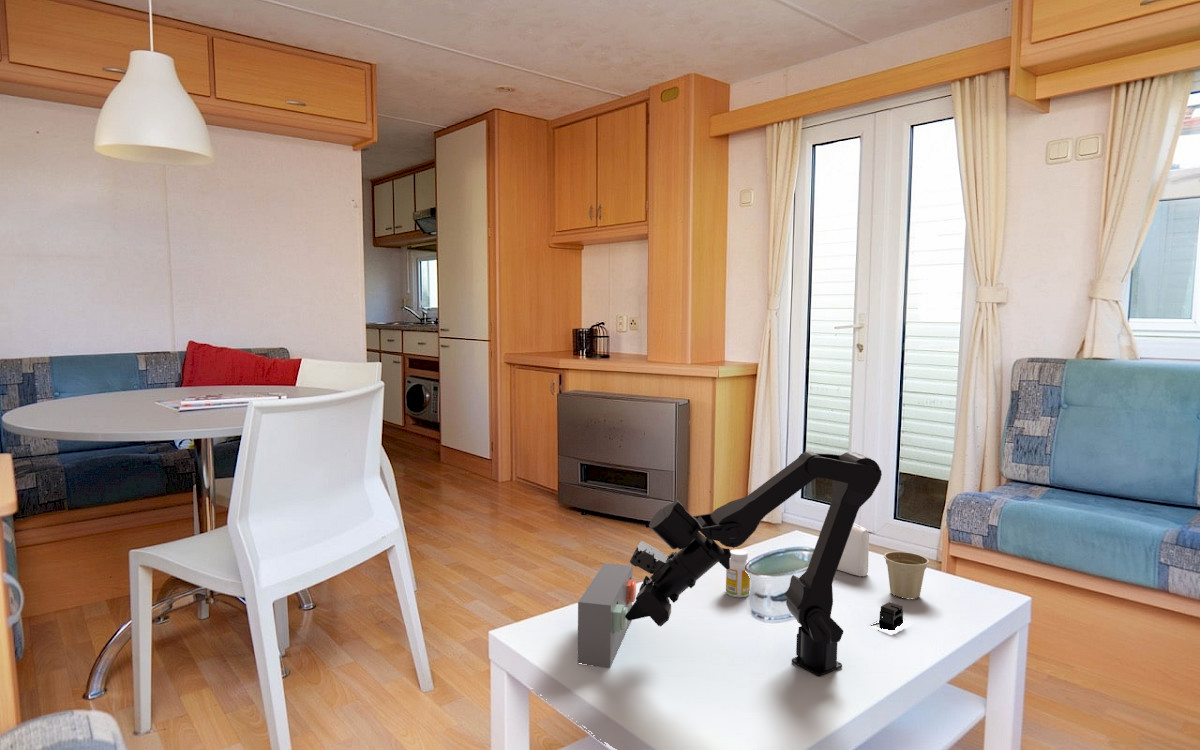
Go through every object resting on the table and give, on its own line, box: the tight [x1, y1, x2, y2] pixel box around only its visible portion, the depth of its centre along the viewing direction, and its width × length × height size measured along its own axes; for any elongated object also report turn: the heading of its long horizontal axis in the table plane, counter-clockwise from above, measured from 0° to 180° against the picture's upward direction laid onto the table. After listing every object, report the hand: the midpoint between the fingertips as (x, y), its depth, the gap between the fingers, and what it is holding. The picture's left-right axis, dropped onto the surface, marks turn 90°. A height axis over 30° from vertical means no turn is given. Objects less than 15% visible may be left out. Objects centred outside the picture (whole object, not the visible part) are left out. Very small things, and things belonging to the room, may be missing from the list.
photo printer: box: [837, 522, 870, 577], centre depth 175 cm, size 10×4×12 cm, turn 37°
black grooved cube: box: [870, 601, 904, 630], centre depth 144 cm, size 12×7×5 cm, turn 130°
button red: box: [626, 579, 637, 604], centre depth 141 cm, size 5×4×4 cm
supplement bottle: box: [725, 548, 751, 598], centre depth 159 cm, size 5×5×10 cm
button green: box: [613, 604, 628, 632], centre depth 128 cm, size 5×4×4 cm
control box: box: [577, 562, 634, 669], centre depth 135 cm, size 6×21×12 cm, turn 167°
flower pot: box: [883, 551, 930, 599], centre depth 160 cm, size 9×9×9 cm
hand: (627, 617), depth 127 cm, fingers closed, pressing on button green
